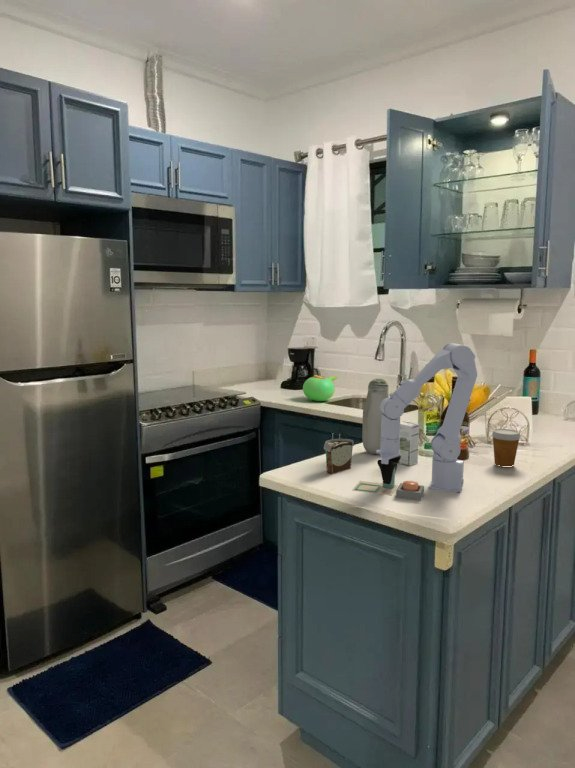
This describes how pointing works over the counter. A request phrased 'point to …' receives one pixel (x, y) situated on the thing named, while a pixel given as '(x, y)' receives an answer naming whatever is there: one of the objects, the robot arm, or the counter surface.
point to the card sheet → (373, 488)
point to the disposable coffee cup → (505, 446)
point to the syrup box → (408, 443)
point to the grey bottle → (373, 415)
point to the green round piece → (319, 388)
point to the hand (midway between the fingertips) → (388, 481)
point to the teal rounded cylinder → (391, 485)
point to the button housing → (410, 493)
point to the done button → (410, 486)
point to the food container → (338, 455)
